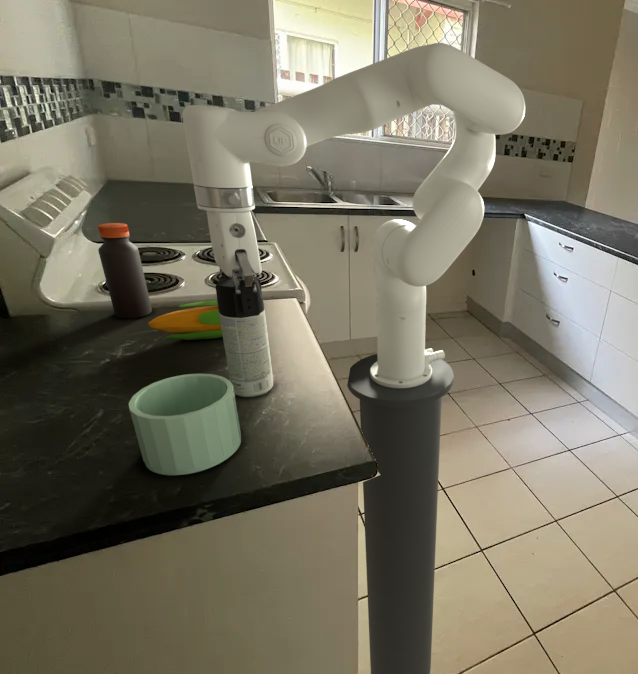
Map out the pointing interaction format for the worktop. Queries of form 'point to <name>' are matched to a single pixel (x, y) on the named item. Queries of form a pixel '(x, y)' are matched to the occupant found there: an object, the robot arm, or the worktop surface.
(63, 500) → the worktop surface
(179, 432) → the cup
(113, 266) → the bottle
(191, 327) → the corn
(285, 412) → the worktop surface
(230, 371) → the spray can
